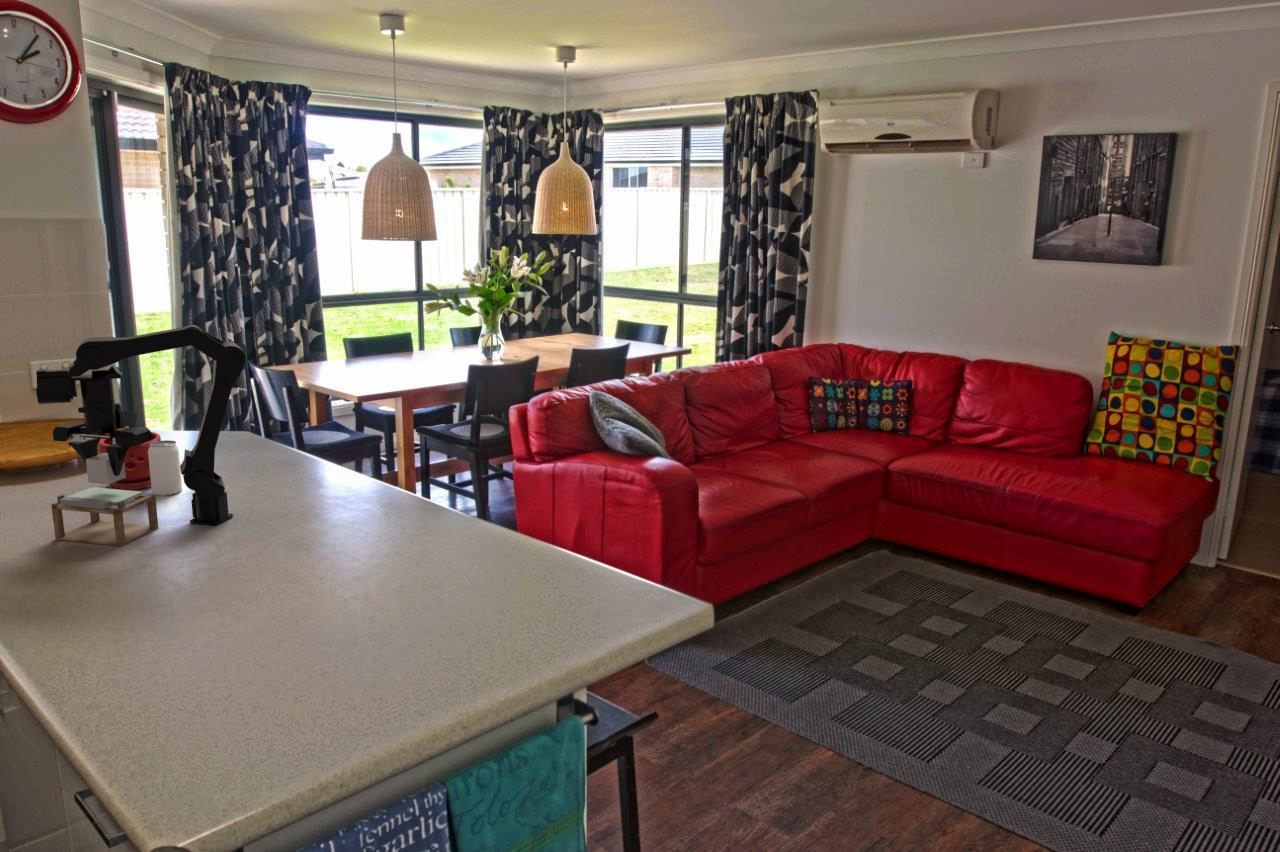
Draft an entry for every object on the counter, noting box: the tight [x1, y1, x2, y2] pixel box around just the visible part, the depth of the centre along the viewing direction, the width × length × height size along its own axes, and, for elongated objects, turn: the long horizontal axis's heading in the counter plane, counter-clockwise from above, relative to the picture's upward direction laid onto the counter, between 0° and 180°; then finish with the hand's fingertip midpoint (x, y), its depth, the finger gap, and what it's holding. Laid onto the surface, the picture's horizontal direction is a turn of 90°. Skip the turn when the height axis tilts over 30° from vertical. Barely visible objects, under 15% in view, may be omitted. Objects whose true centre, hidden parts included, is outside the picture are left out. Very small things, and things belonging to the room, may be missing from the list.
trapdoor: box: [60, 486, 144, 509], centre depth 193 cm, size 12×10×1 cm
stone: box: [85, 453, 126, 485], centre depth 194 cm, size 5×5×5 cm
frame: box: [51, 493, 159, 547], centre depth 195 cm, size 15×11×9 cm
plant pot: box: [98, 431, 162, 491], centre depth 227 cm, size 13×13×12 cm
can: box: [148, 440, 183, 497], centre depth 222 cm, size 6×6×12 cm
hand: (106, 474), depth 194 cm, fingers open, 5 cm apart
